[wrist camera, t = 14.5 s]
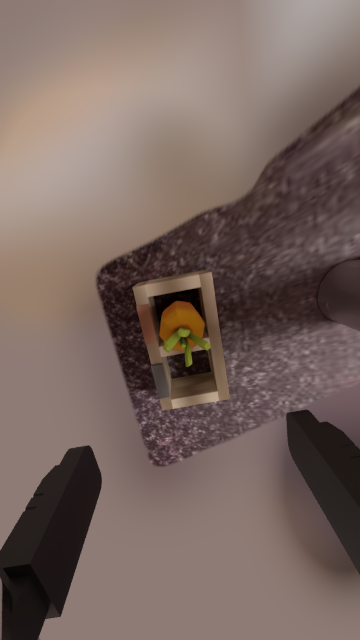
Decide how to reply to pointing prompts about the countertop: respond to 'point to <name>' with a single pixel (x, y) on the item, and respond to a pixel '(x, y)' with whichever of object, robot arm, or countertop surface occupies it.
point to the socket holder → (186, 387)
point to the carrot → (182, 329)
